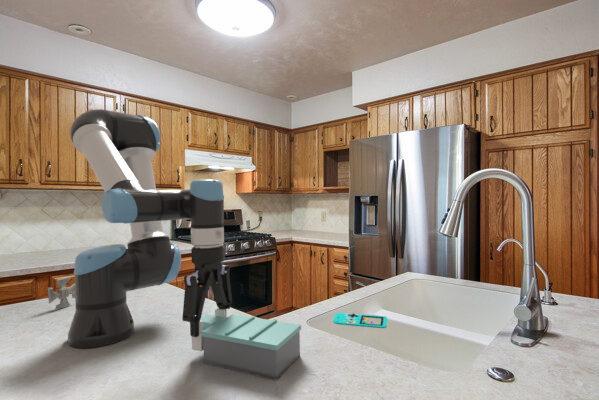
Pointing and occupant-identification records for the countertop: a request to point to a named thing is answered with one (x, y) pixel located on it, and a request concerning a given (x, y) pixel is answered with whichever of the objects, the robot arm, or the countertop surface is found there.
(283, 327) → the lid
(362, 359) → the countertop surface
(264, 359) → the tub
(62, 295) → the cross
